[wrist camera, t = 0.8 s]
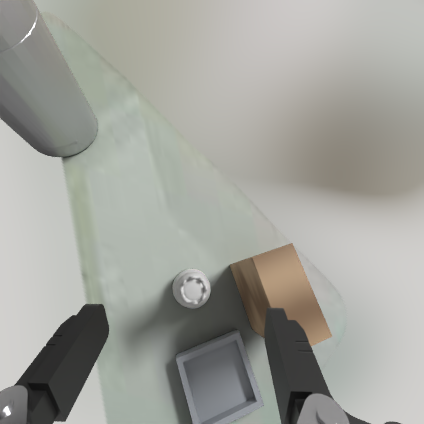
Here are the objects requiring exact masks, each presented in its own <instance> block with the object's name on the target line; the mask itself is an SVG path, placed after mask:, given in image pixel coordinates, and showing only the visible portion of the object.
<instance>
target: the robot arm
mask: <svg viewBox="0 0 424 424" xmlns="http://www.w3.org/2000/svg"><path fill="white" fill-rule="evenodd" d="M0 118H1V119H2V120H3V121H4V122H5V123H6V124H8V126H10V127H11V128H12V129H13V130H14V131H15V132H16V133H17V134H19V135H20V136H21V137H22V138H23V139H24V140H25V141H26V142H28V143H29V144H30V145H31V146H32V147H33V148H35V149H36V150H37V151H39V152H40V153H43V154H45V155H48V156H52V157H65V156H71V155H74V154H77V153H79V152H81V151H83V150H84V149H85V148H87V147H88V146H89V145H90V144H91V143H92V142H93V140H94V139H95V137H96V135H97V131H98V122H97V119H96V117H95V115H94V113H93V111H92V109H91V107H90V105H89V103H88V101H87V100H86V98H85V96H84V94H83V92H82V90H81V88H80V86H79V84H78V83H77V81H76V79H75V77H74V75H73V73H72V71H71V69H70V68H69V66H68V64H67V62H66V60H65V58H64V56H63V55H62V53H61V51H60V49H59V47H58V45H57V43H56V41H55V40H54V38H53V36H52V34H51V32H50V30H49V28H48V27H47V25H46V23H45V21H44V19H43V17H42V15H41V14H40V12H39V10H38V8H37V6H36V4H35V2H34V1H33V0H0ZM108 334H109V325H108V321H107V317H106V313H105V309H104V306H103V305H102V304H85V305H84V306H83V307H82V309H81V310H80V311H79V313H78V314H77V315H73V316H71V317H70V318H69V319H67V320H66V321H65V322H64V323H62V324H61V325H60V327H59V328H58V329H57V331H56V332H55V333H54V335H53V337H51V338H50V340H49V341H48V342H47V344H46V346H45V347H44V348H43V349H42V350H41V352H40V353H39V354H38V355H37V357H36V358H35V359H34V361H33V362H32V363H31V365H30V366H29V367H28V368H27V370H26V371H25V373H24V374H23V375H22V376H21V378H20V379H19V380H18V381H17V383H16V384H15V385H14V386H11V387H8V388H6V389H4V390H2V391H1V392H0V424H53V422H54V421H62V422H63V421H66V419H67V417H68V415H69V413H70V411H71V409H72V407H73V405H74V403H75V401H76V399H77V397H78V395H79V393H80V391H81V390H82V388H83V386H84V383H85V381H86V380H87V378H88V376H89V374H90V372H91V370H92V368H93V366H94V363H95V362H96V360H97V358H98V356H99V354H100V352H101V350H102V348H103V346H104V344H105V342H106V340H107V338H108ZM264 338H265V346H266V350H267V355H268V360H269V365H270V370H271V375H272V380H273V385H274V389H275V394H276V399H277V404H278V409H279V414H280V419H281V423H282V424H370V423H367V422H365V421H362V420H360V419H357V418H355V417H353V416H351V415H350V414H348V413H347V412H345V411H344V410H343V409H342V408H341V407H340V405H339V404H337V402H335V400H334V399H333V398H332V396H331V394H330V392H329V390H328V387H327V385H326V383H325V380H324V378H323V375H322V373H321V370H320V368H319V365H318V363H317V360H316V358H315V355H314V353H313V350H312V348H311V345H310V343H309V340H308V338H307V335H306V333H305V331H304V329H303V328H302V327H301V326H300V324H299V323H298V322H297V321H296V320H288V319H287V316H286V313H285V310H284V308H267V311H266V319H265V328H264ZM385 424H400V423H398V422H386V423H385Z"/></svg>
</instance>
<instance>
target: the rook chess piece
mask: <svg viewBox="0 0 424 424" xmlns="http://www.w3.org/2000/svg"><path fill="white" fill-rule="evenodd" d="M172 288H173V295H174V297H175V299H176V301H177V302H179V303H180V304H181V305H182V306H185V307H187V308H191V309H193V308H199V307H200V306H202V305H204V304H205V303H206V301H207V300H208V299H209V296H210V292H211V288H210V283H209V281H208V279H207V277H206V275H205V274H203V273H202V272H201V271H200V270H197V269H193V268H192V269H185V270H184V271H182V272H180V273H179V274H178V275H177V277H176V278H175V279H174V283H173V286H172Z"/></svg>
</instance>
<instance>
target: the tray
mask: <svg viewBox="0 0 424 424" xmlns="http://www.w3.org/2000/svg"><path fill="white" fill-rule="evenodd" d="M176 362H177V365H178V369H179V373H180V377H181V380H182V384H183V388H184V392H185V395H186V399H187V403H188V407H189V411H190V414H191V418H192V422H193V424H229V423H230V422H232V421H234V420H236V419H238V418H240V417H242V416H244V415H246V414H248V413H250V412H252V411H254V410H256V409H258V408H260V407H262V406H264V403H263V400H262V397H261V394H260V391H259V388H258V386H257V383H256V380H255V377H254V374H253V371H252V368H251V365H250V362H249V359H248V356H247V353H246V350H245V347H244V344H243V341H242V338H241V335H240V332H239V331H238V330H237V329H236V330H234V331H231V332H229V333H226V334H224V335H222V336H219V337H217V338H214V339H212V340H210V341H207V342H205V343H202V344H200V345H198V346H195V347H193V348H190V349H188V350H186V351H183V352H181V353H178V354H176Z"/></svg>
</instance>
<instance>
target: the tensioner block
mask: <svg viewBox="0 0 424 424" xmlns="http://www.w3.org/2000/svg"><path fill="white" fill-rule="evenodd" d="M230 267H231V270H232V273H233V276H234V279H235V282H236V284H237V287H238V290H239V293H240V296H241V299H242V302H243V304H244V307H245V310H246V313H247V316H248V319H249V322H250V324H251V327H252V330H254V331H255V332H256V333H258V334H259V335H261V336H262V337H263V338H264V328H265V319H266V311H267V308H284V310H285V313H286V316H287V319H288V320H296V321H297V322H298V323H299V324H300V326H301V327H302V328H303V329H304V331H305V333H306V335H307V338H308V340H309V343H310V345H311V346H313V345H315V344H317V343H319V342H321V341H323V340H325V339H328V338H330V337H332V335H331V332H330V330H329V328H328V325H327V323H326V321H325V318H324V316H323V314H322V311H321V309H320V307H319V304H318V302H317V300H316V297H315V295H314V293H313V290H312V288H311V286H310V283H309V281H308V279H307V276H306V274H305V272H304V269H303V267H302V265H301V262H300V260H299V258H298V255H297V253H296V251H295V248H294V246H293V244H292V243H291V244H288V245H285V246H282V247H280V248H277V249H274V250H271V251H268V252H265V253H262V254H259V255H256V256H253V257H250V258H248V259H245V260H242V261H239V262H236V263H233V264H231V265H230Z"/></svg>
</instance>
